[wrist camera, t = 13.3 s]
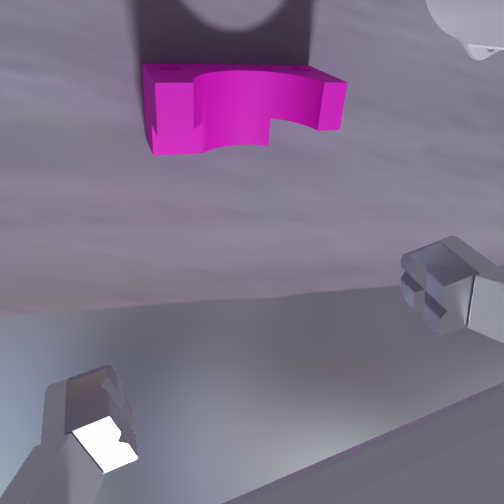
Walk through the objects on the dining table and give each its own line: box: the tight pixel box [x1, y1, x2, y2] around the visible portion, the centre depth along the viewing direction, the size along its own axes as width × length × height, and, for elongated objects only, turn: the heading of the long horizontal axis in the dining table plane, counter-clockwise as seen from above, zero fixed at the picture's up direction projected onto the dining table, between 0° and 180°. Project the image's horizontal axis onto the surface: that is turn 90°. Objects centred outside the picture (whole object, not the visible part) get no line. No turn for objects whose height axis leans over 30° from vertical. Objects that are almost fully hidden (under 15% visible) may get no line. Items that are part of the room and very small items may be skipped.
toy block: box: [141, 63, 347, 156], centre depth 37 cm, size 15×6×8 cm, turn 86°
